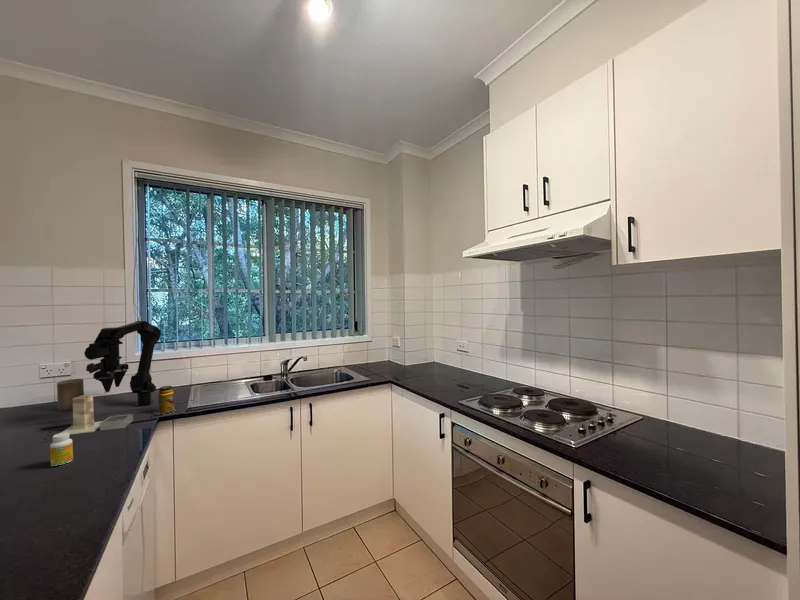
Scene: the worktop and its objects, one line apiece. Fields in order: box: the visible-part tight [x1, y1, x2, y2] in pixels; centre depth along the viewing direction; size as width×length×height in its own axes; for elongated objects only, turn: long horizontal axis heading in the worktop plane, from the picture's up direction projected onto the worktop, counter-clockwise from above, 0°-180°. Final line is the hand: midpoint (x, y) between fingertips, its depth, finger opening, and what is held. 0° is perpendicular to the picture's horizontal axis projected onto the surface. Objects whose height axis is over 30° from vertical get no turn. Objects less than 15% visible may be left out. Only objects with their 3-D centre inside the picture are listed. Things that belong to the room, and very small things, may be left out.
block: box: [72, 394, 95, 430], centre depth 145 cm, size 4×4×13 cm
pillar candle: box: [56, 378, 85, 412], centre depth 172 cm, size 10×10×15 cm
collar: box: [99, 413, 134, 431], centre depth 148 cm, size 8×8×3 cm
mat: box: [60, 420, 103, 436], centre depth 145 cm, size 12×12×1 cm
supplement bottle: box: [49, 432, 74, 467], centre depth 115 cm, size 5×5×10 cm
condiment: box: [158, 385, 175, 413], centre depth 164 cm, size 7×8×12 cm
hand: (112, 389), depth 157 cm, fingers open, 9 cm apart
